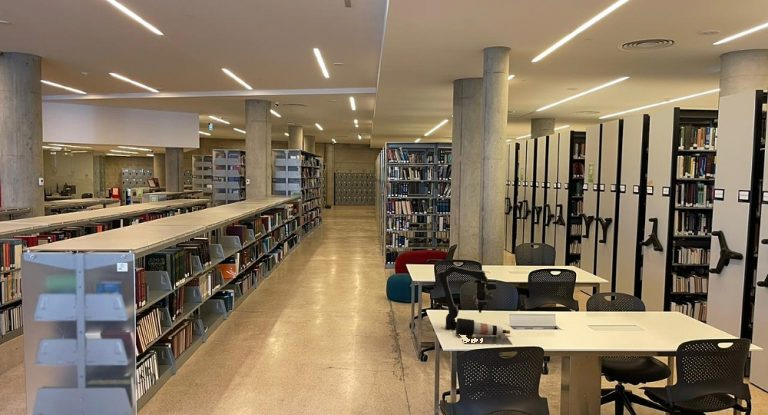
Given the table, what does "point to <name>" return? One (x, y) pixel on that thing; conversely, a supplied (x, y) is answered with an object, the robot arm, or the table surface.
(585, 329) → the table surface
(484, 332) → the banded tapered cylinder
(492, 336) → the plate
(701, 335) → the table surface
